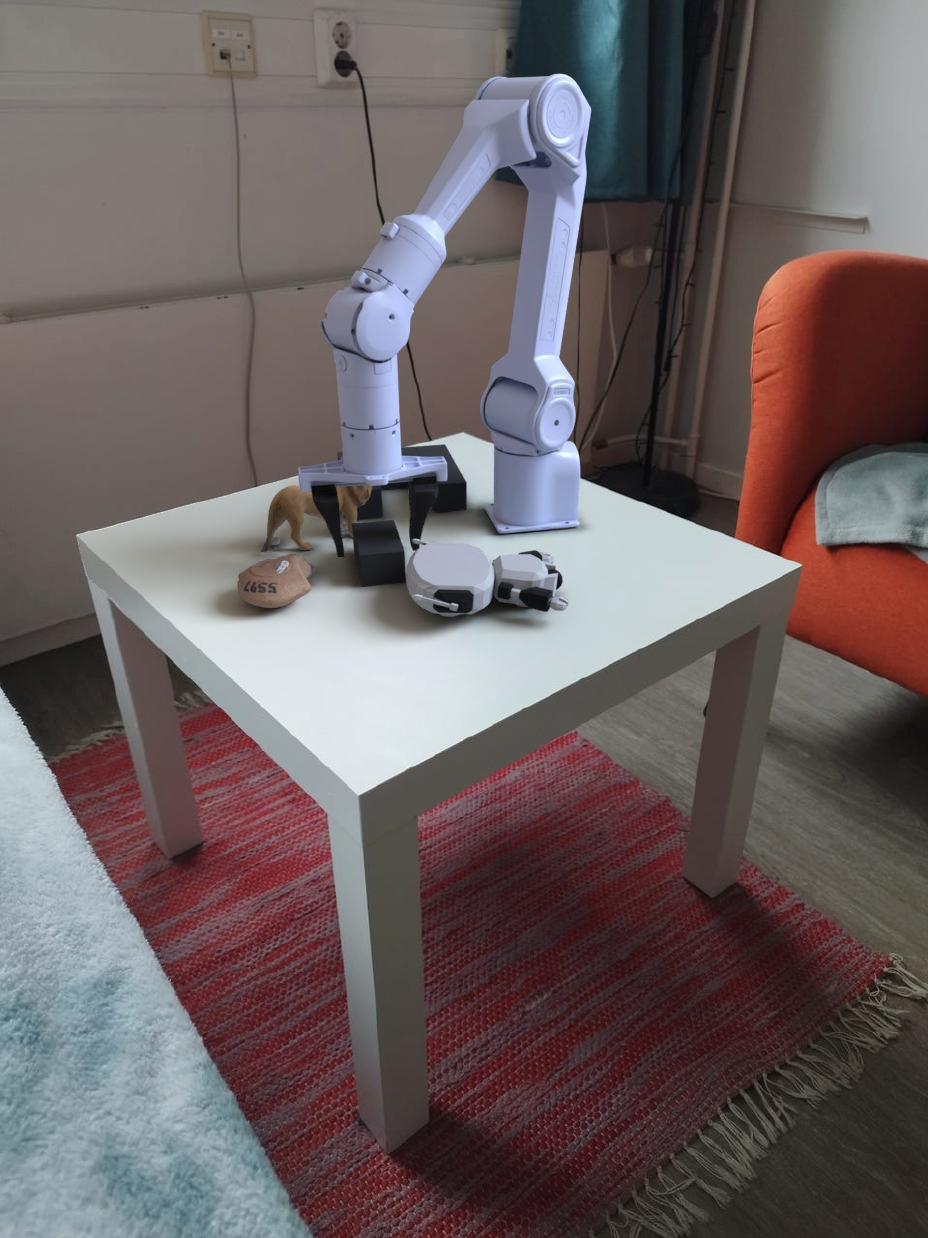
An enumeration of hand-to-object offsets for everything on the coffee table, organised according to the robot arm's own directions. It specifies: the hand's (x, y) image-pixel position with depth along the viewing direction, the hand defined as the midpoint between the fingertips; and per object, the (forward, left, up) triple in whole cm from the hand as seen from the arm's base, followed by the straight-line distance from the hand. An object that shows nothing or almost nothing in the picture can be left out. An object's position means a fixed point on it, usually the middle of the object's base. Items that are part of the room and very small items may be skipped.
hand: (377, 549), depth 93 cm
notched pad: (-5, -20, -2) cm, 21 cm away
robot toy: (-9, +10, -2) cm, 13 cm away
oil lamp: (+10, +4, -2) cm, 11 cm away
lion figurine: (+5, -9, -2) cm, 11 cm away
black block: (0, 0, -2) cm, 2 cm away
